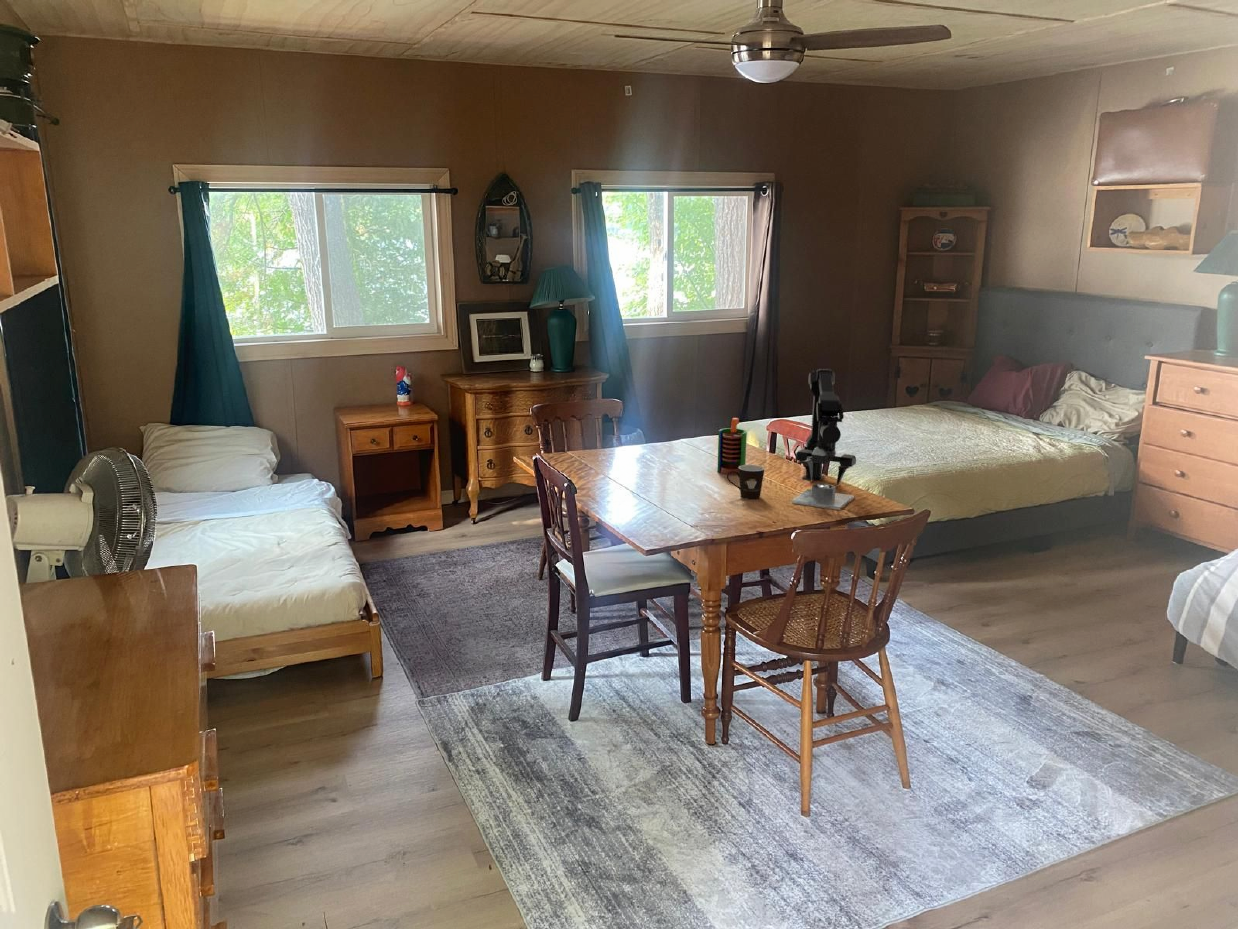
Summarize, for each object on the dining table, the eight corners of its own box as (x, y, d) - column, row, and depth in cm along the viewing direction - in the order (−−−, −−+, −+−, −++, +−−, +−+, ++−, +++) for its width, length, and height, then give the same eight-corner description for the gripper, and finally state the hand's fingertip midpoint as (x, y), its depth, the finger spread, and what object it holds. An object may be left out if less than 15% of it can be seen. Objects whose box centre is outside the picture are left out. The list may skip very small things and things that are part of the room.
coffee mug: (767, 495, 317) (768, 467, 314) (757, 501, 310) (758, 472, 307) (735, 490, 322) (736, 462, 320) (724, 496, 315) (726, 467, 313)
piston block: (807, 491, 322) (808, 477, 321) (853, 498, 314) (854, 483, 313) (791, 503, 308) (792, 488, 307) (839, 510, 301) (840, 495, 300)
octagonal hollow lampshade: (816, 493, 316) (816, 482, 315) (836, 496, 312) (837, 485, 311) (809, 498, 310) (810, 487, 309) (830, 501, 306) (831, 490, 306)
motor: (716, 474, 345) (717, 420, 340) (719, 468, 353) (721, 416, 348) (743, 476, 342) (746, 422, 338) (746, 470, 351) (748, 417, 346)
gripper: (791, 438, 304) (788, 485, 307) (848, 444, 295) (845, 492, 299) (802, 432, 313) (799, 477, 317) (858, 438, 304) (854, 485, 308)
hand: (824, 483), depth 310 cm, fingers open, 9 cm apart
